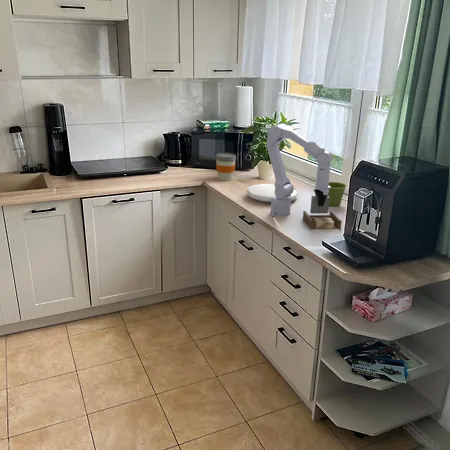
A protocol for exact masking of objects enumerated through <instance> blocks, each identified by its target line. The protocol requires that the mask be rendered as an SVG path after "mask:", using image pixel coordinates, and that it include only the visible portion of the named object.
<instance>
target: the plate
mask: <svg viewBox="0 0 450 450" xmlns="http://www.w3.org/2000/svg"><path fill="white" fill-rule="evenodd" d="M274 185H275V183H274V184H273V183H261V184H259V183H258V184H254V185H250V186H248V187H247V190H246V193H247V195H248V197H250V198H251V199H254V200H257V201H261V202H268V203H271V199H272V198H275V197H276V196H275V186H274ZM297 198H298V192H297V190H296V189H294V191H293V193H292V194H291V202H293V201H295V200H297Z"/></svg>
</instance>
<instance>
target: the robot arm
mask: <svg viewBox="0 0 450 450" xmlns="http://www.w3.org/2000/svg"><path fill="white" fill-rule="evenodd" d="M283 139H286V140H287V139H288V140H290V141H293V142H294V143H296V144H297V145H299V146H300V147H302V148H303V151H304V153H306V154H308V155H309V156H311V158H313V159H315V160H316V163H317V169H316V179H315V184H314V189H313V192H314V196H318V206H323V205H324V202H325V200H326V198H327V196H328V195H329V193H328V192H329V191H328V189H329V188H331V187H330V186H328V184H329V182H330V175H331V162H332V161H333V159H334V155H333V152H332V151H331V150H330V149H329V150H328V149H326V148H324V147H321V146H320V145H318V144H317V141H313V140H310V141H308V139H305V137H304V136H302V135H300V134H299V133H298V132H297V131H295V130H294V129H293V128H292V127H291V126H289V125H288V124H285V123H280V124H276V125H272V126H271V127H270V128H269V129H268V131H267V138H266V147H267V148H266V149H267V152H268V155H269V159H270V163H271V167H272V171H273V175H274V179H275V181H274V184H275V185H274V186H275V196H276V197H275V198H272V199H271V202H270V211H269V212H270V215H271V216H272V218H276V217H275V216H289V215H290V214H291V206H292V205H291V203H292V201H291V194H292V193H293V191H294V190H295V187H294V185H293V184H292V183H291V181H290V180H291V179H290V178H289V177H287V174H286V169H285V165H284V162H283V157H282V155H281V151H280V147H279V146H280V143H281V142H282V140H283Z"/></svg>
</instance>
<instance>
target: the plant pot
mask: <svg viewBox="0 0 450 450" xmlns="http://www.w3.org/2000/svg"><path fill="white" fill-rule="evenodd" d="M347 185H348V184H346V183H343V182H338V181H329V184H328V186H330V187H331V188H329V189H328V191H329V192H328V193H329V195H328V196H329V197H330V199H329V208H332V207H333V208H334V207H336V208H338V207H341V205H342V200H343V197H344V193H345V190H346V188H347Z"/></svg>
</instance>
